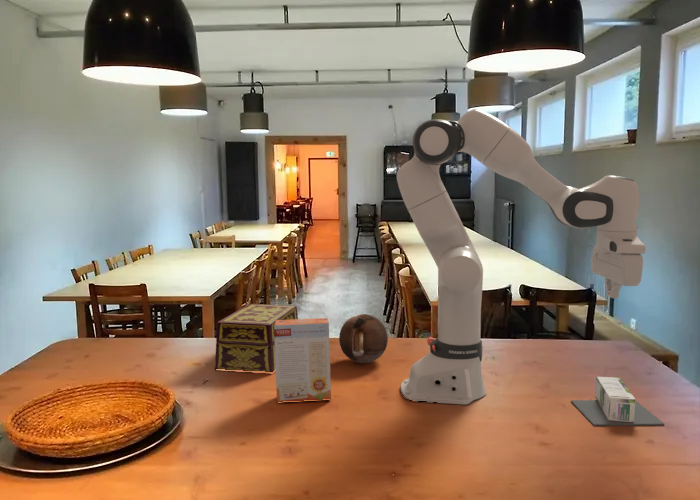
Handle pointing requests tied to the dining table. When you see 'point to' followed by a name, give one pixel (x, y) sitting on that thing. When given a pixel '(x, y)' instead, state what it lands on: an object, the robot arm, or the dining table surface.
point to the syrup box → (615, 399)
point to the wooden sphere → (363, 338)
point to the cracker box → (302, 359)
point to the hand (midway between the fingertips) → (612, 297)
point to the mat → (598, 418)
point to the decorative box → (250, 337)
